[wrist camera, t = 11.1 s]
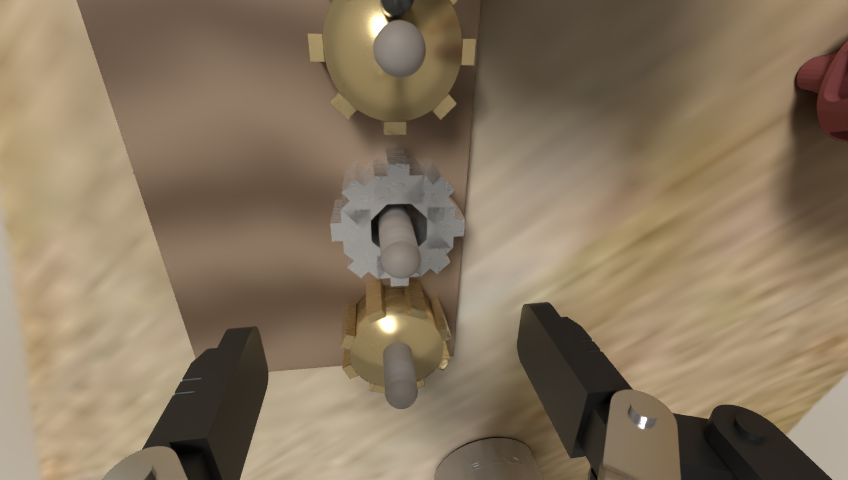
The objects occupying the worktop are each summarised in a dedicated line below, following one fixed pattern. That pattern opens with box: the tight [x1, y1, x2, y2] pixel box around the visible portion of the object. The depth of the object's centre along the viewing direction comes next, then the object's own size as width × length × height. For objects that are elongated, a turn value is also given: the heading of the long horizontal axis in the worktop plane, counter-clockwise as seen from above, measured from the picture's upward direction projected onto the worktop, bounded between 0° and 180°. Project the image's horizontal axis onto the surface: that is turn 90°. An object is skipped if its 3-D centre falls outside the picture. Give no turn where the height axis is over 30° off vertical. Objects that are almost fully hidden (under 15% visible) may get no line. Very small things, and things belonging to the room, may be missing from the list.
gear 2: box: [341, 278, 452, 394], centre depth 22 cm, size 6×6×3 cm
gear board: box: [77, 0, 481, 409], centre depth 17 cm, size 22×16×7 cm
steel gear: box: [330, 148, 465, 287], centre depth 19 cm, size 6×6×3 cm
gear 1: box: [308, 0, 476, 135], centre depth 14 cm, size 6×6×5 cm
